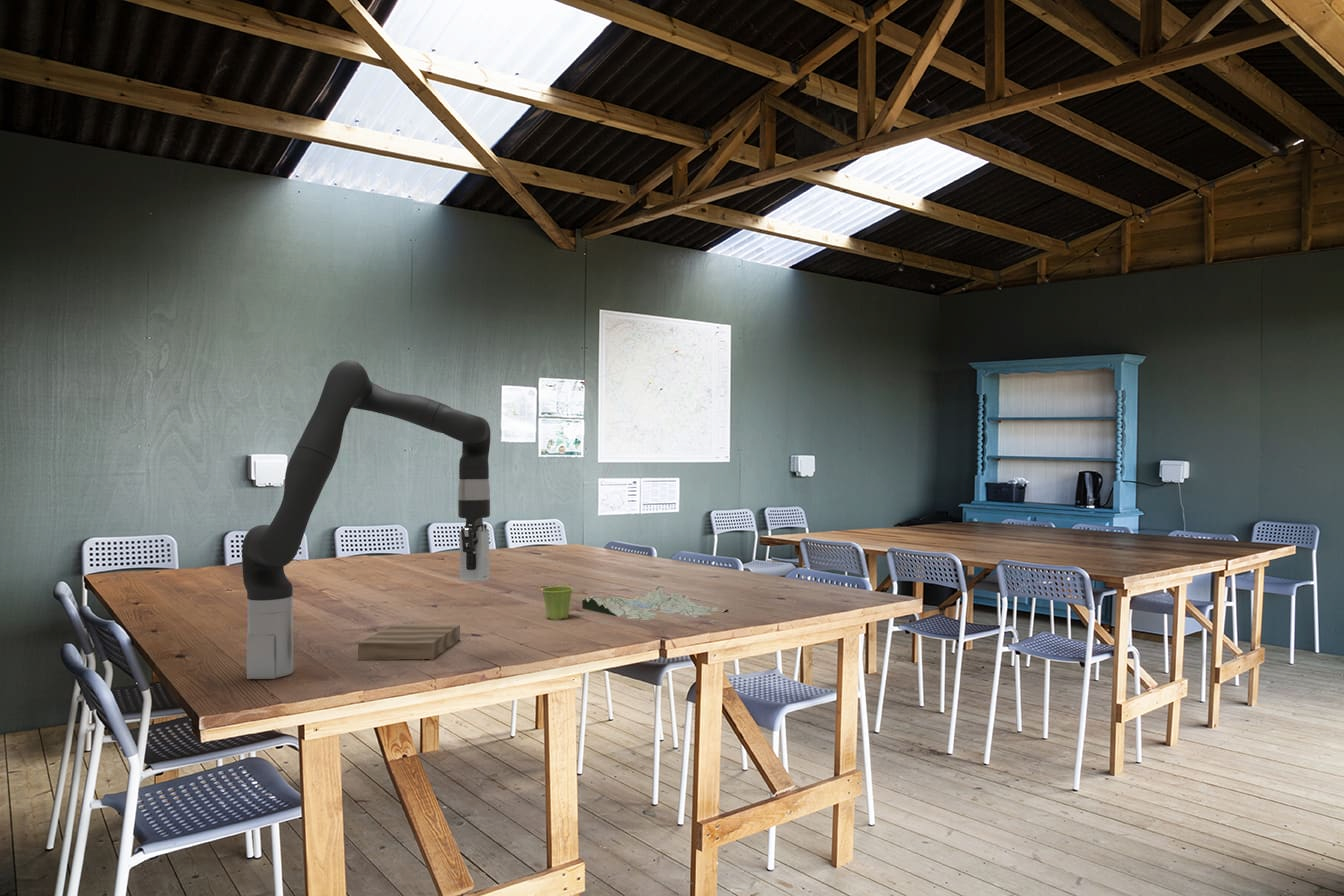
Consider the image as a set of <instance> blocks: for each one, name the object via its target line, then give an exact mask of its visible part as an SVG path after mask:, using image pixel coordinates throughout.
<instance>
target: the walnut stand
mask: <svg viewBox="0 0 1344 896" xmlns="http://www.w3.org/2000/svg"><path fill="white" fill-rule="evenodd" d="M458 640H461V625H460V624H392V625H390V626H387V627H386V628H384V629H382V630H381V631H378V632H376V633H375V634H372V635H370V636H369V637H367V638H365V639H363V640H361V641H360V642H358V643H357V659H358V660H357V661H390V660H391V661H401V660H400V659H423V660H422V661H425V660H424V659H430V660H429V661H433V660H435V659H436V658H437V657H439V656H440V655H441V654H442V652H443V651H444V650H446V649H447V648H448V649H450V648H451V647H453V646H454V645H455V644H457V643H458V642H459V641H458ZM457 641H458V642H457ZM456 642H457V643H456ZM454 643H455V644H454ZM453 644H454V645H453ZM452 645H453V646H452ZM450 646H451V647H450ZM449 647H450V648H449ZM448 649H447V650H448ZM447 650H446V651H447ZM444 652H445V651H444ZM444 652H443V653H444ZM440 653H441V654H440ZM439 654H440V655H439ZM438 655H439V656H438ZM435 657H436V658H435ZM434 658H435V659H434ZM395 659H396V660H395ZM398 659H399V660H398Z"/></svg>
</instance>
